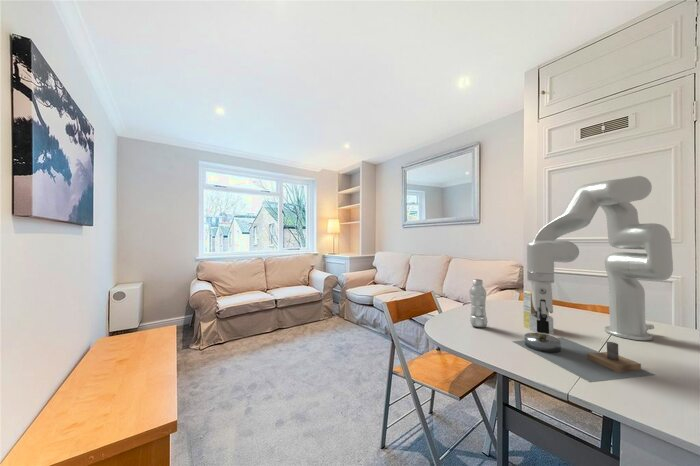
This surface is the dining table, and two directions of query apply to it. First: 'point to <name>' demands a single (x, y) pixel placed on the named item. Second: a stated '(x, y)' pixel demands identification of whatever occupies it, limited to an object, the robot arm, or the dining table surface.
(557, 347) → the hub
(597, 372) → the mat
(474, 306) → the plastic bottle
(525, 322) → the candy box
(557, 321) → the dining table surface
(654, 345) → the dining table surface
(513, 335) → the dining table surface
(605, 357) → the stand
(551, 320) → the collar
